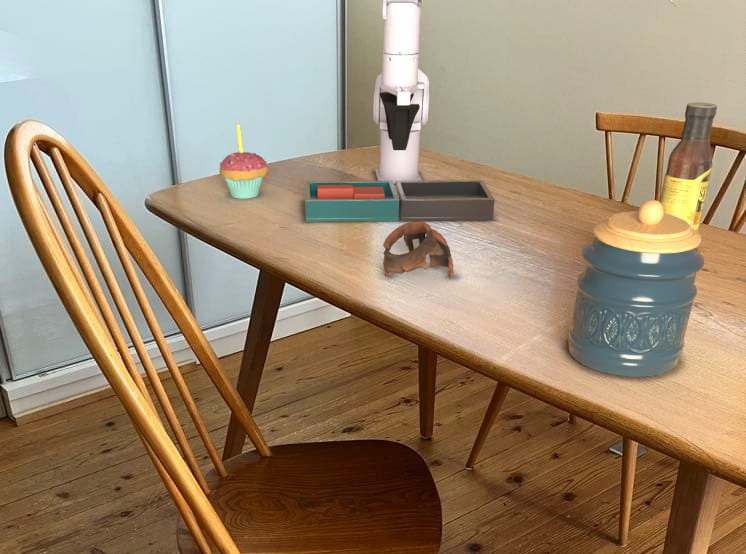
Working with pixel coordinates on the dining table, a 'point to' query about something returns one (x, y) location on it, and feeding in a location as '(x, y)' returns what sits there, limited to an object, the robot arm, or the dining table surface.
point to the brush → (349, 192)
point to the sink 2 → (444, 200)
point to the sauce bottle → (690, 166)
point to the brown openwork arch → (416, 249)
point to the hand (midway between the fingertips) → (397, 144)
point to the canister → (635, 293)
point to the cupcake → (243, 171)
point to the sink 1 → (351, 204)
